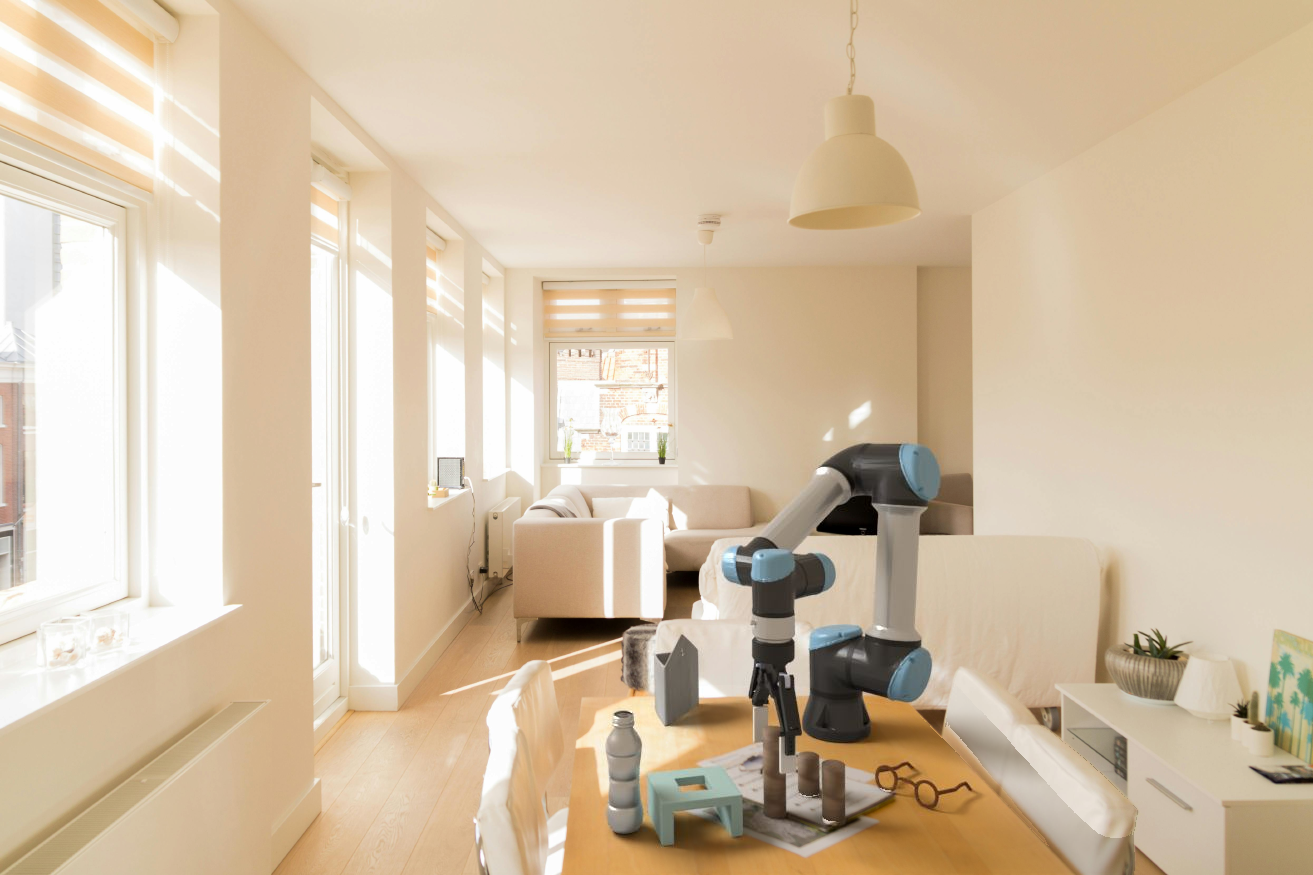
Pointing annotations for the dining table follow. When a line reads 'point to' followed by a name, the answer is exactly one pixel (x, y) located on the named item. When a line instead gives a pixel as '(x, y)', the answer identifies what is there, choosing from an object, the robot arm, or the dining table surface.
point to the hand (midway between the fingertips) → (773, 756)
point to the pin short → (808, 773)
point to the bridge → (693, 798)
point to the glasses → (887, 768)
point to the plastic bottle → (624, 775)
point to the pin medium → (833, 791)
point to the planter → (676, 681)
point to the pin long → (773, 775)
